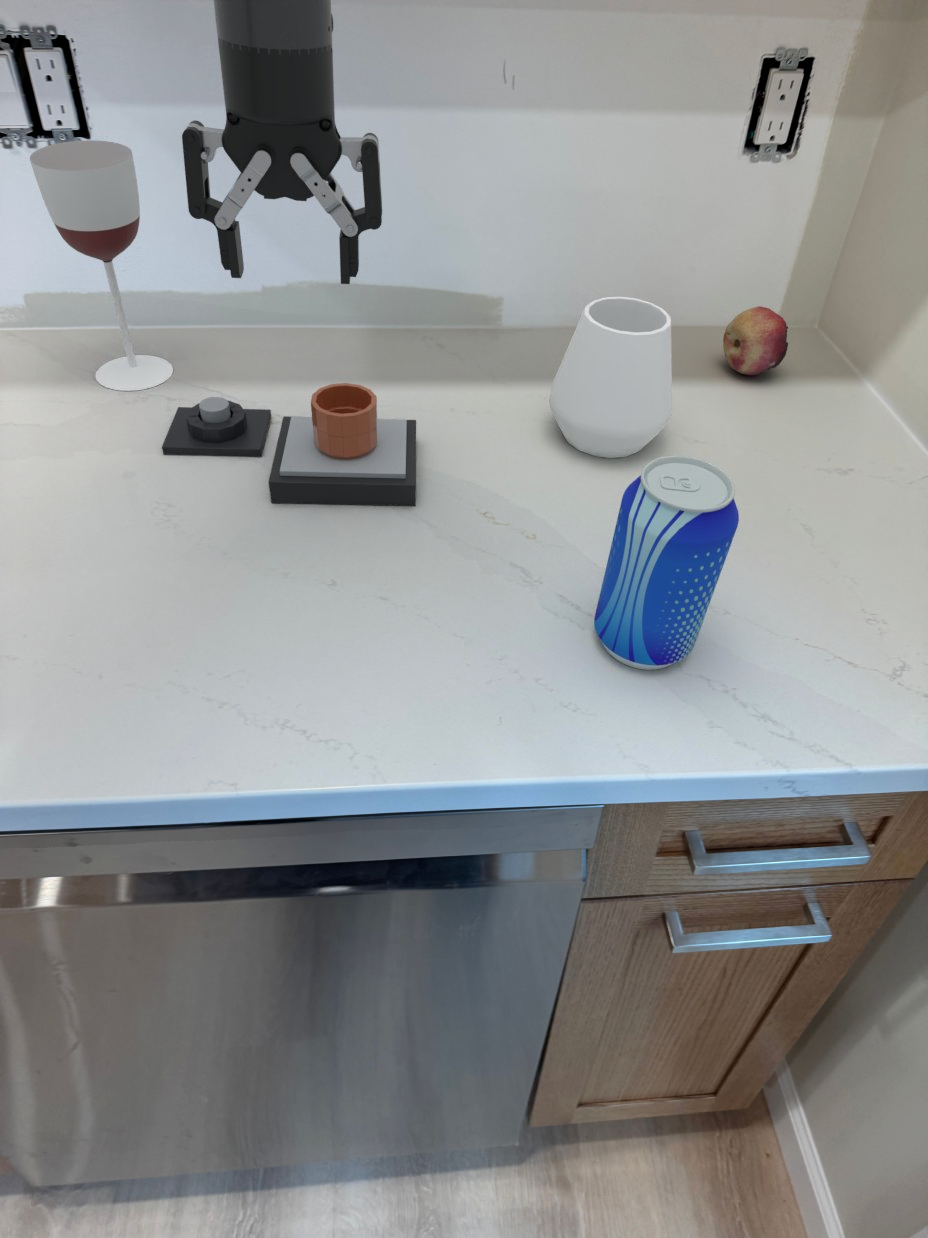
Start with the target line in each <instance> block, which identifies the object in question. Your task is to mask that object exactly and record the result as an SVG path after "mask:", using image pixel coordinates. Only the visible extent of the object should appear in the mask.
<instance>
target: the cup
mask: <svg viewBox="0 0 928 1238" xmlns="http://www.w3.org/2000/svg"><path fill="white" fill-rule="evenodd" d="M672 372H673V369H672V320H671V315H670V314H669V313H667V311H666V310H665V309H664V308H661V307H660V306H658V305H656V304H654V303H652V302H650V301H646V300H643V299H641V298H636V297H629V296H628V297H627V296H607V297H603V298H598V299H595V300H591V302H589V303H587V305H585V306H584V309H583V311H582V313H581V316H580V318H579V320H578V322H577V325H576V328H575V330H574V332H573V335H572V337H571V339H570V342H569V344H568V346H567V349H566V351H565V353H564V355H563V358H562V360H561V362H560V365H559V367H558V370H557V372H556V374H555V376H554V379H553V381H552V384H551V388H550V391H549V398H548V402H549V408H550V410H551V413H552V414H553V417H554V418H555V421H556V423H557V425H558V427H559V429H560V431H561V433H562V436H564V438H565V440H566V441H567V443H568V444H569V445H570V446H572V447H573V448H575V449H576V450H577V451H580V452H582V453H585V454H588V455H590V456H593V457H599V458H600V457H601V458H606V459H617V458H626V457H629V456H631V455H633V454H637V453H639V452H640V451H641V450H642V449H643V448H644V447H646V446H647V444H649V443H650V442H651V441H652V440H653V439H654V438H655V437H657V435H658V434H660V433H661V432H662V430H663V429H664V428H665V427H666V426H667V425H668V423H669V422H670V420H671V418H672V417H673V373H672Z"/></svg>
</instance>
